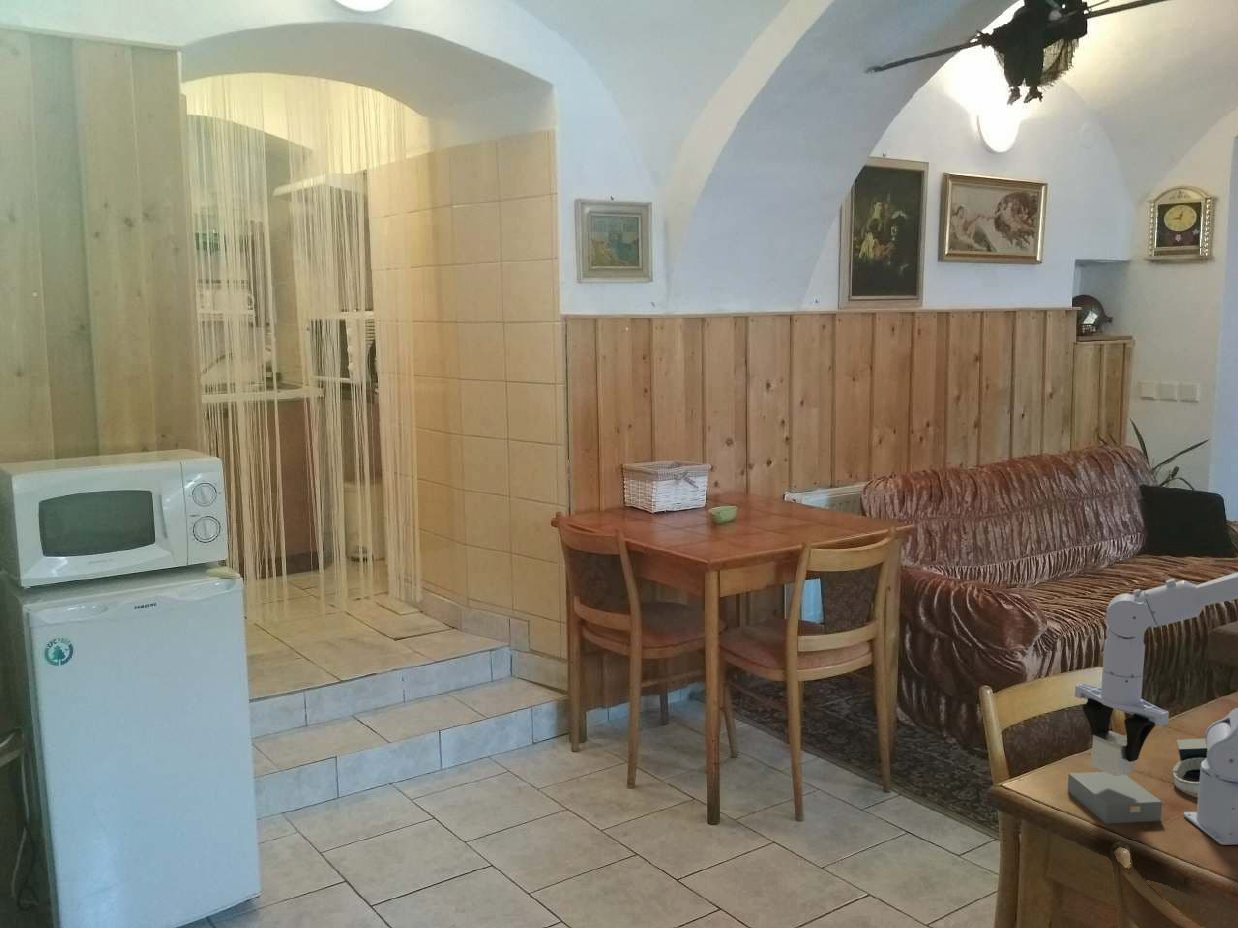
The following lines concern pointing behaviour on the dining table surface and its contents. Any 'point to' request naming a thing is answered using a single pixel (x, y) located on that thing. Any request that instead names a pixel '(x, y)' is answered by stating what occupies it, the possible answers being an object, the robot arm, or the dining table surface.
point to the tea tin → (1110, 754)
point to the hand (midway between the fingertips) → (1116, 753)
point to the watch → (1189, 764)
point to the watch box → (1114, 797)
